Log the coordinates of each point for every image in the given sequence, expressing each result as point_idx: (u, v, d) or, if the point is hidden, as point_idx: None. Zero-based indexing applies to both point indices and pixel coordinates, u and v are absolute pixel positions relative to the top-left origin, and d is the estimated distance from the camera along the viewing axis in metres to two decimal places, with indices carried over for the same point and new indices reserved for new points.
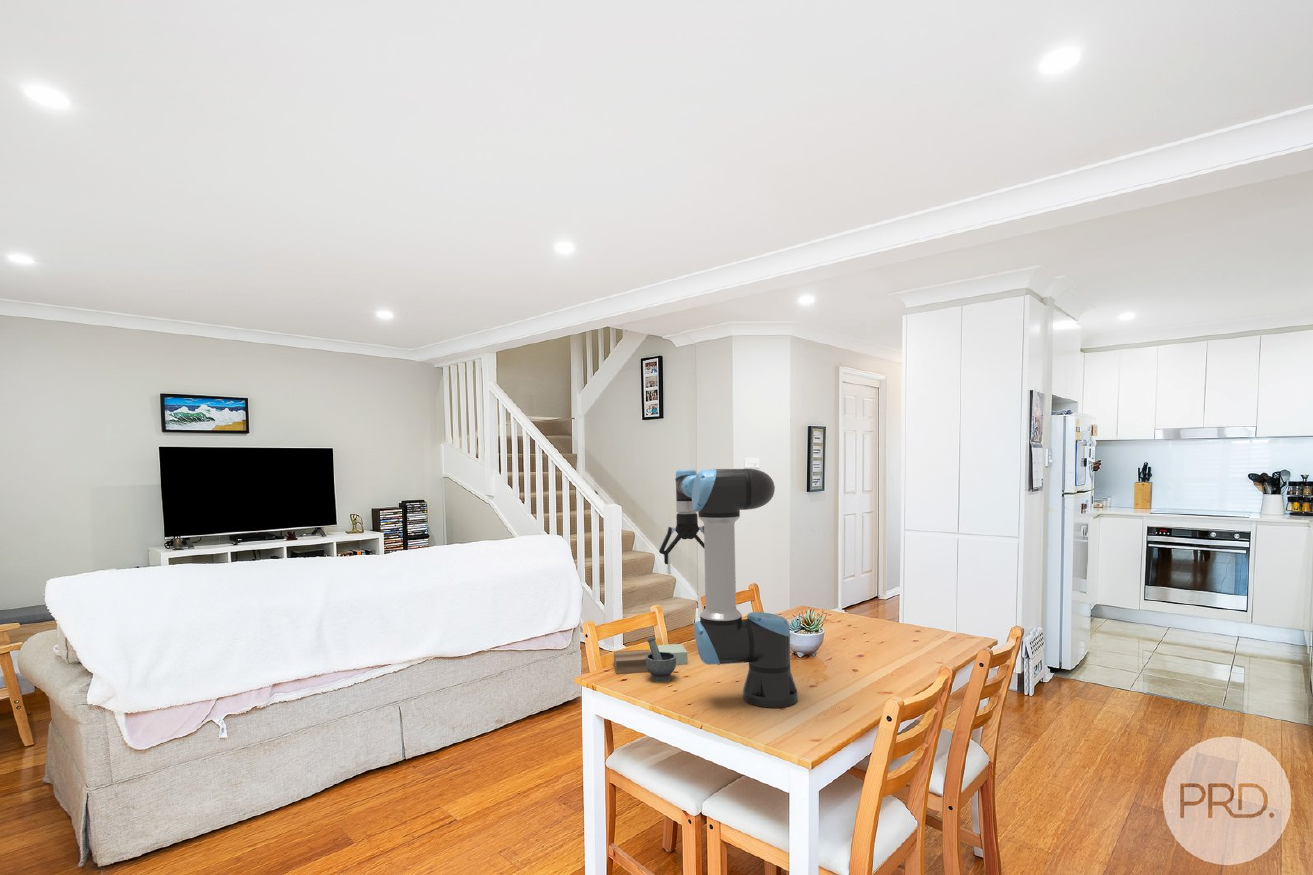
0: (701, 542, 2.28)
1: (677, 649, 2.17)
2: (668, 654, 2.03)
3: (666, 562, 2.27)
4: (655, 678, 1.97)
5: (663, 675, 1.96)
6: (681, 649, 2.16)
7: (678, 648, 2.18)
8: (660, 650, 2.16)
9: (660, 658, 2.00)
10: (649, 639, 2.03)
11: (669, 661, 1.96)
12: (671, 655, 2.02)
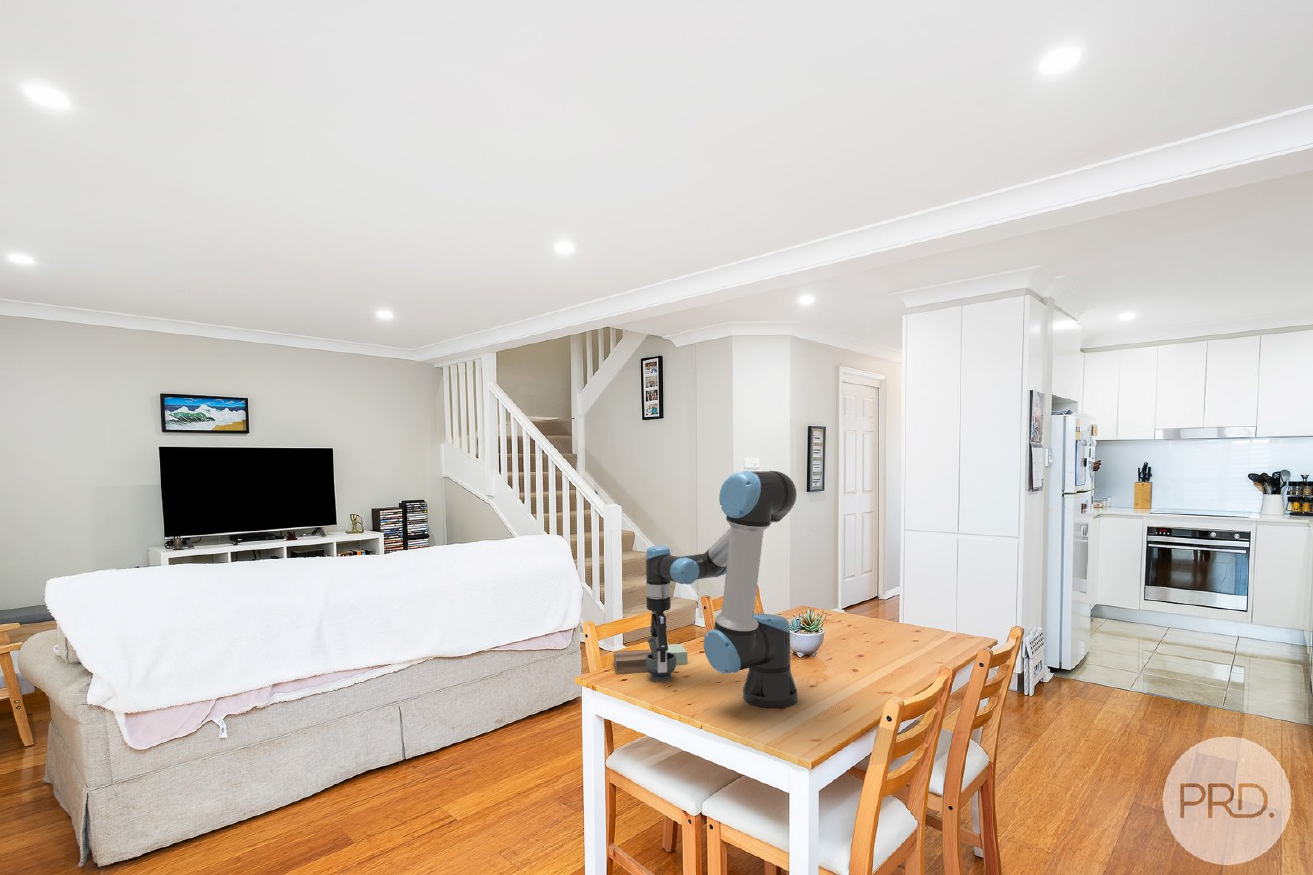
0: (657, 634, 1.96)
1: (677, 649, 2.17)
2: (668, 654, 2.03)
3: None
4: (655, 678, 1.97)
5: (663, 675, 1.96)
6: (681, 649, 2.16)
7: (678, 648, 2.18)
8: None
9: None
10: (649, 639, 2.03)
11: (669, 661, 1.96)
12: (671, 655, 2.02)
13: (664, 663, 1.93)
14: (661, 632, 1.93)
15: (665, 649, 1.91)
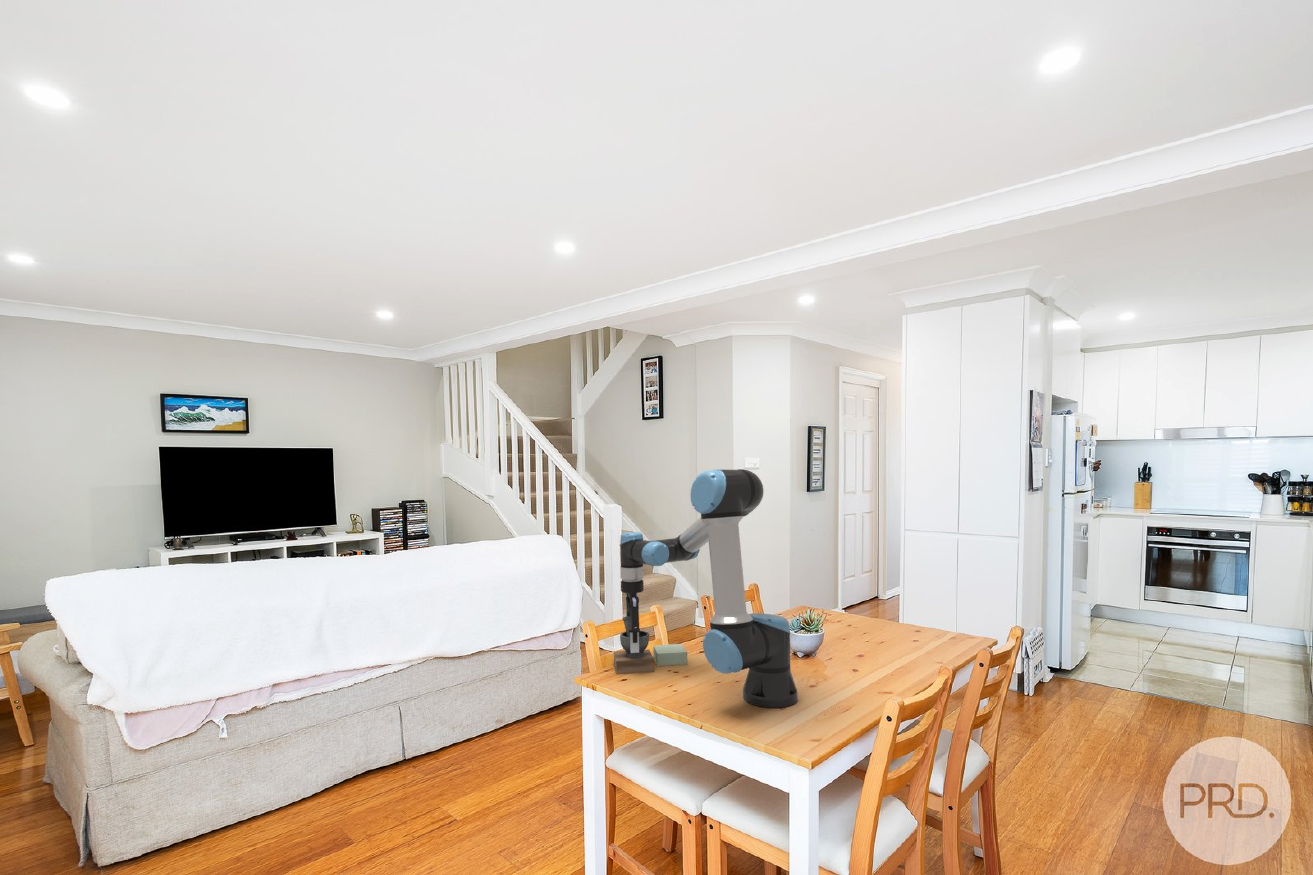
0: (630, 616, 2.07)
1: (677, 649, 2.17)
2: (642, 632, 2.14)
3: None
4: (629, 655, 2.08)
5: None
6: (681, 649, 2.16)
7: (678, 648, 2.18)
8: (660, 650, 2.16)
9: None
10: (624, 618, 2.14)
11: (641, 638, 2.07)
12: (645, 633, 2.13)
13: (636, 644, 2.05)
14: (633, 614, 2.04)
15: (637, 630, 2.03)
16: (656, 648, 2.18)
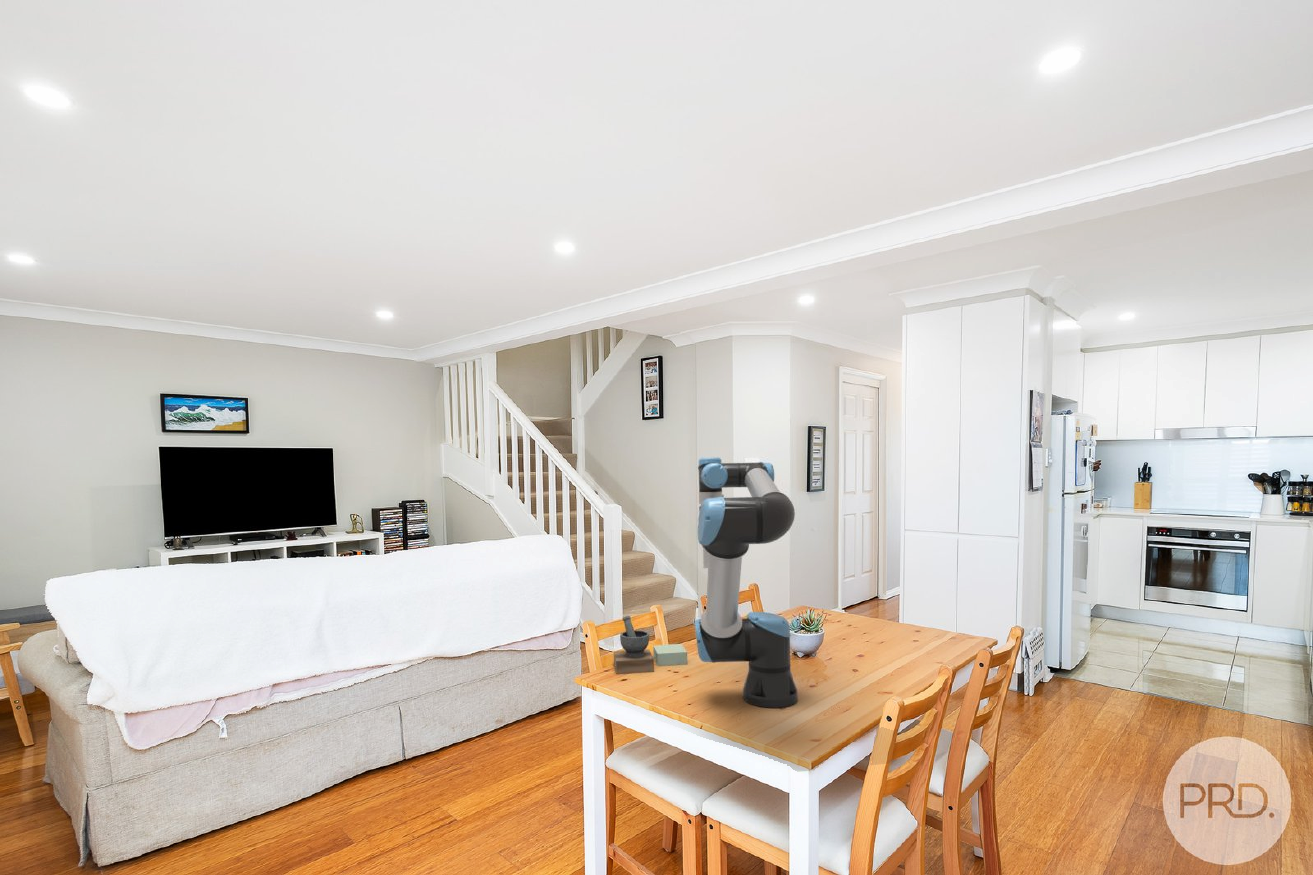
0: None
1: (677, 649, 2.17)
2: (642, 632, 2.14)
3: None
4: (629, 655, 2.08)
5: (636, 651, 2.08)
6: (681, 649, 2.16)
7: (678, 648, 2.18)
8: (660, 650, 2.16)
9: (634, 636, 2.12)
10: (624, 618, 2.14)
11: (641, 638, 2.07)
12: (645, 633, 2.13)
13: None
14: None
15: None
16: (656, 648, 2.18)
